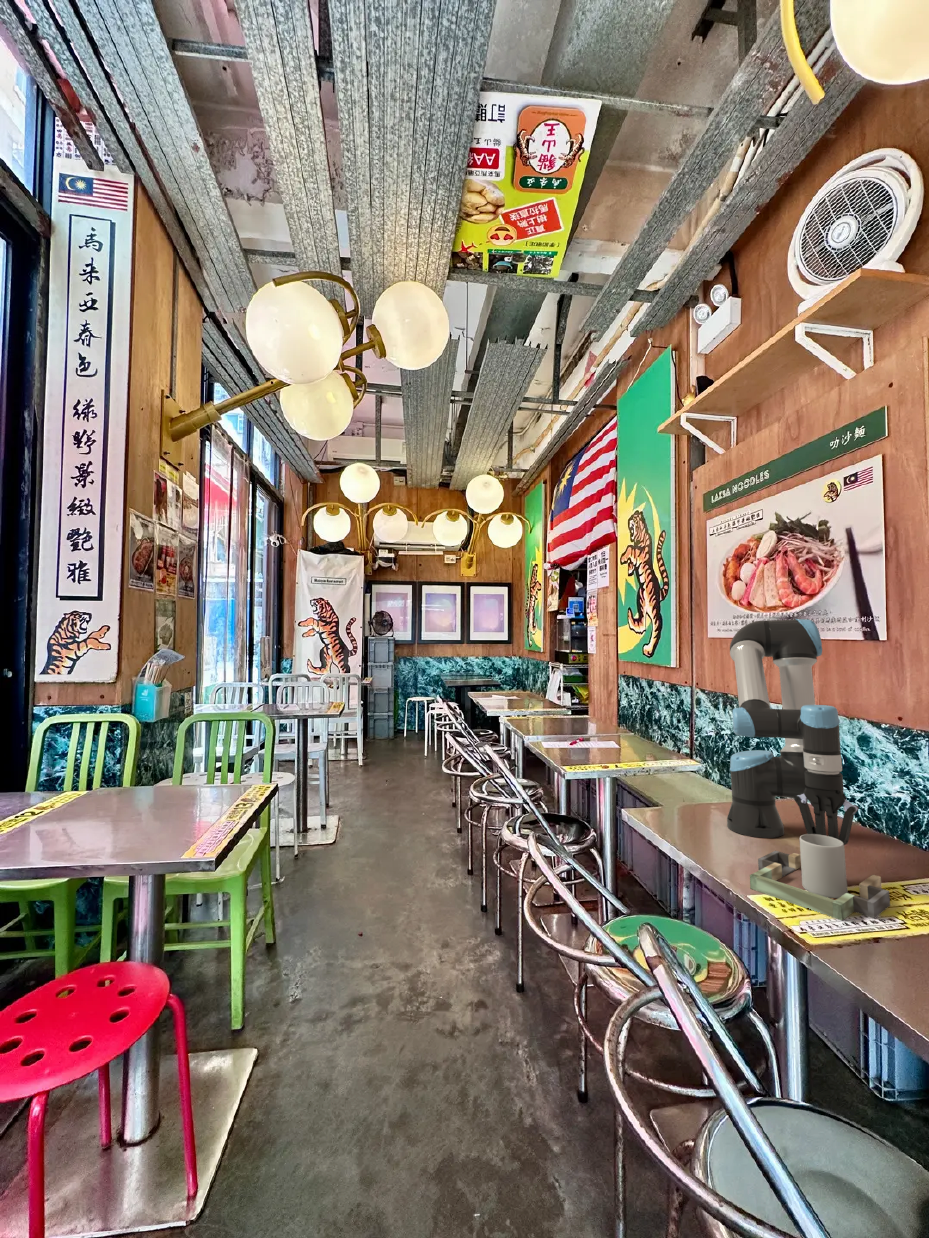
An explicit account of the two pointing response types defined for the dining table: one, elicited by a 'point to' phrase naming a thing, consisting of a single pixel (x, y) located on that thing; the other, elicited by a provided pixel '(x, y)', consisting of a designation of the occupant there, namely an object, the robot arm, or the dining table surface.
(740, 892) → the dining table surface
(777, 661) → the robot arm
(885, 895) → the grey-green u-shaped bracket
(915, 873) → the dining table surface
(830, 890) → the mug
